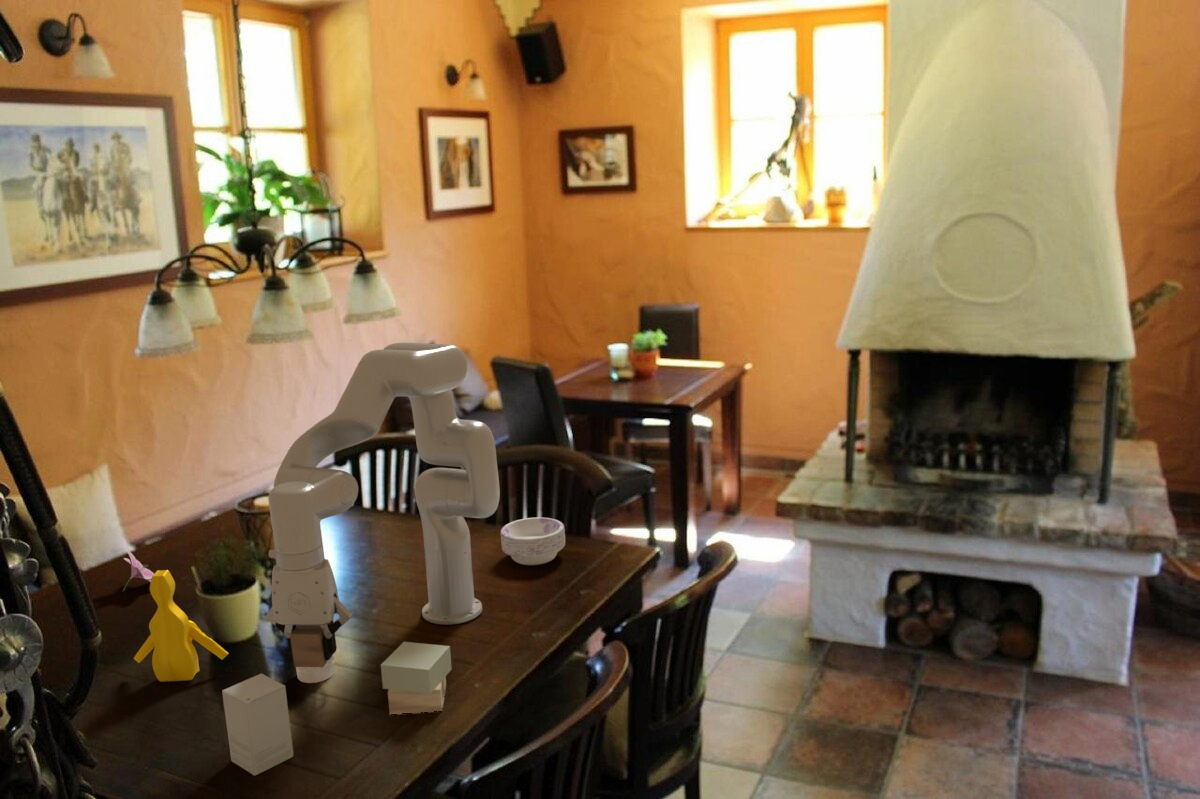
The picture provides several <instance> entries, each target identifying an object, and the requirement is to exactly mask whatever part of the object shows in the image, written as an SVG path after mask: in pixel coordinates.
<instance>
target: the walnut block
mask: <svg viewBox="0 0 1200 799" xmlns="http://www.w3.org/2000/svg"><path fill="white" fill-rule="evenodd" d="M323 638H324V633H323V631H322V629H321V627H320V625H297V626H296V628H295V629H294V630H293V631H292V632H291V634H290V639H291V646H292V653H293V659H292V660H293V667H294V668H296V667H324V665H325V664H326V663H327V661H328V660H325V657H324V650H323V642H322V640H323Z"/></svg>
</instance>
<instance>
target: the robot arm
mask: <svg viewBox="0 0 1200 799" xmlns="http://www.w3.org/2000/svg"><path fill="white" fill-rule="evenodd" d="M467 372H468V360H467V357H466V354H465V353H464V351H463V350H462V349H461V348H460V347H458V346H457V345H453V344H449V343H423V342H395V343H391V344H388V345H387V346H385V347H384V348H383V349H374V350H370V351H368V352H367V353H365V354H363V356H362V357H361V358H360V360H359V362H358V363H357V365H356V367H355V369H354V371H353V373H352V376H351V377H350V379H349V381H348V382H347V385H346V387H345V389H344V391H343V393H342V395H341V397H340V399H339V401H338V402H337V404H336V406H335V408H334V410H333V411H332V412H331V413H330V414H328V415H327V416H325V417H324V418H322V419H321V420H319V421H318V422H316V423H315V424H314V425H313V426H311V427H310V428H308V429H307V430H306V431H305V432H303V433H302V434H301V435H300V436H298V438H297V439H296V440H295V441H294V442H293V443H292V444H291V446H290V447H289V449H288V450H287V452H286V455H285V456H284V458H283V460H282V462H281V463H280V466H279V467H278V470H277V472H276V474H275V477H274V482H273V488H271V489H270V491H269V493H268V496H267V497H268V508H269V515H270V520H271V527H272V535H273V541H274V548H273V549H269V550H268V558H270V559H275V564H274V565H273V568H272V573H271V574H272V575H271V602H272V604H271V605H272V606H271V608H270V609H269V611H268V612H267V614H266V615H265V616H264V617H265V620H267V622H270V623H271V624H272V625H274V626H275V627H276V629H278V630H279V631H280V632H281V633H282V634H283V637H284V638H285V639H287V644H288V645H287V646H288V649H289V650H288V652H289V653H290V654H291V659H292V660H293V653H292V646H291V639H290V634H291V632H292V631H293V630H294V629H295V628H296V626H297V625H320V627H321V629H322V631H323V633H324V638H323V640H322V642H323V650H324V657H325V660H329V659H330V658H331V657H332V655H333V654H334V655H335V654H336V652H337V650H338V649H337V640H336V632H337V631H339V629H340V628H341V627H342V626H343V625H345V624H346V623H347V622H348V621H349V620H350V619H351V618H352V616H353V613H352V612H351V611H350V610H349V609H348V608H347V607H346V606H345V605H344V604H343V603H342V602H341V601H340V599H339V593H338V592H339V591H338V588H337V583H336V582H337V581H336V579H335V574H334V572H333V570H332V566H331V563H330V561H329V559H326V558H325V551H324V544H323V537H322V536H323V535H322V534H323V533H322V529H321V521H322V520H324V519H327V518H332V517H334V516H338V515H340V514H342V513H344V512H346V511H347V510H349V509H350V508H352V506H353V505H354V504H355V502H356V501H357V498H358V496H359V494H358V493H359V485H358V481H357V479H356V478H355V476H353V474H351V473H349V472H347V471H346V470H341V469H333V468H325V467H324V468H323V467H317V466H318V465H319V464H320V463H321V462H323V461H324V460H325V459H326V458H328V457H329V456H331V455H333V454H335V453H336V452H338V451H342V450H344V449H347V448H350V447H354V446H356V445H359V444H361V443H363V442H366V441H369V440H370V439H372V438H374V437H375V436H377V435H378V433H379V431H380V429H381V427H382V424H383V423H384V421H385V418H386V416H387V414H388V412H389V410H390V407H391V405H392V404H393V402H394V400H395V398H396V397H408V399H409V402H410V406H411V411H412V418H413V419H412V420H413V426H414V435H415V442H416V448H417V452H418V456H419V458H420V459H421V461H423V462H425V463H427V464H430V465H435V466H436V465H437V466H444V467H432V468H429V469H426V470H424V471H423V472H421V473H420V474H419V475H418V477H417V479H416V482H415V485H414V496H415V500H416V505H417V508H418V511H419V515H420V520H421V525H422V533H423V534H422V535H423V536H422V537H423V546H424V558H425V568H426V569H425V570H426V582H427V583H426V584H427V585H426V586H427V594H428V603H426V604H425V605H424V606H423V607H422V609H421V615H422V618H423V619H424V620H425V621H427V622H428V623H431V624H435V625H445V626H446V625H458V624H463V623H466V622H469V621H472V620H474V619H475V618H477V617H478V616H479V615H481V614H482V612H483V604H482V602H481V600H479V599H477V598H476V597H475V592H474V591H475V590H474V575H473V562H472V561H473V560H472V547H471V545H472V544H471V534H470V529H469V526H468V524H467V522H466V520H465V517H466V518H472V519H473V518H474V519H486V518H489V517H492V516H493V514H495V512H496V511H497V509H498V506H499V502H500V480H499V470H498V469H499V468H498V460H497V459H498V458H497V449H496V448H497V447H496V442H495V438H494V435H493V432H492V430H491V429H490V427H489V426H488V425H487V424H486V423H484V422H482V421H480V420H479V421H478V420H474V419H460V418H459V417H458V416H457V412H456V407H455V406H456V405H455V401H454V400H455V399H454V394H453V391H452V390H453V389H456V388H458V387H459V386H460V385H461V384H462V383H463V382H464V379H465V378H466V375H467ZM445 466H446V467H445ZM448 467H451V468H448ZM452 467H459V468H452ZM461 468H463V469H461ZM335 614H337V615H338V616H339V617H338V618H337V619H336V620H335V619H334V617H335Z"/></svg>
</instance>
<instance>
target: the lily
mask: <svg viewBox="0 0 1200 799" xmlns="http://www.w3.org/2000/svg"><path fill="white" fill-rule="evenodd" d="M122 547H123V549H124V550H125V551H126V552H127V554H128V556H129V558H130V559H129V558H126V557H123V560H125V561H126V562H127V563H128V564H130V565H131V566H130V569H131V575H130V578H129V579H128V581H126V583H125V585H124V588H123V590H122V592H123V591H124V592H125V590H126V588H127V586H128V585H129V583H130V582H131V580H132V579H133V578H137V579H143V580H147V581H148V582H150V583H151V579H152V576H153V575H154V574H155V572H153V571H151V570H150V569H149V568H147V567H148V564H146V563H144V564H142V563H141V561H139V560H138V559H136V557H135V556H134V554H133V553H132V552H131V550H129V549H127V547H125V546H124V545H122Z"/></svg>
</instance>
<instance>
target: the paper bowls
mask: <svg viewBox="0 0 1200 799" xmlns="http://www.w3.org/2000/svg"><path fill="white" fill-rule="evenodd" d="M565 529H566V528H565V524H564V523H562V521H560V520H558V519H554V518H550V517H539V516H537V517H527V518H522V519H517V520H513V521H511V522H509V523H507V524H505V525H504V526H502V528H501V529H500V543H501V550H502V552H503V553H504V554H506V555H508V556H510V557H511V559H512V561H514V562H516V563H517V564H520V565H525V566H538V565H544V564H547V563H550V562H551V561H553V560H554V559H555V558H556V557H557V555H558V552H560V551H561V550H562V549H564V547H565V546H566V534H565V531H566V530H565Z"/></svg>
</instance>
